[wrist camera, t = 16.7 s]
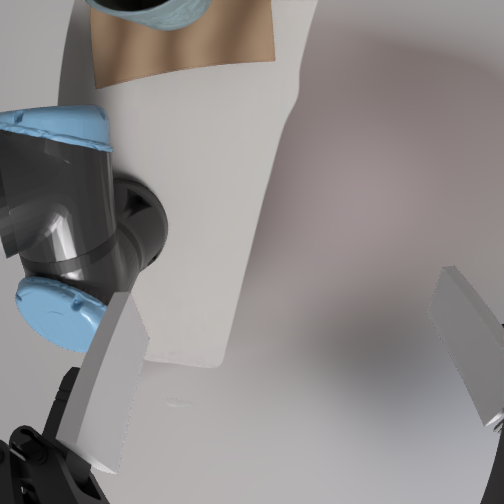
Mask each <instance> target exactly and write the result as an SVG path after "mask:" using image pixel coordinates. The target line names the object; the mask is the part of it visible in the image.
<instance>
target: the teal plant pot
mask: <svg viewBox="0 0 504 504" xmlns="http://www.w3.org/2000/svg"><path fill="white" fill-rule="evenodd" d="M85 1H86V2H87V3H88V4H89V5H90V6H91V7H93V8H94V9H96V10H98V11H100V12H103V13H106V14H109V15H112V16H115V17H119V18H122V19H125V20H129V21H133V22H135V23H138V24H141V25H144V26H147V27H149V28H152V29H155V30H161V31H171V30H176V29H180V28H183V27H186V26H188V25H190V24H192V23H193V22H195V21H196V20H198V19H199V18H200V17H201V16H202V15H203V14H204V13H205V12H206V11H207V9H208V7H209V6H210V4H211V1H212V0H85Z"/></svg>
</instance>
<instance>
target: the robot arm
mask: <svg viewBox="0 0 504 504" xmlns="http://www.w3.org/2000/svg"><path fill="white" fill-rule="evenodd" d="M111 152H113V148H112V146H111V145H110V134H109V120H108V116H107V114H106V112H105V111H104V110H103V109H102V108H101V107H99V106H96V105H68V106H52V107H40V108H31V109H22V110H15V111H6V112H0V258H1V259H3V260H5V259H7V258H9V257H11V256H13V255H15V254H17V253H19V255H20V258H21V262H22V265H23V268H24V271H25V278H23V279H22V280H21V282H19V285H18V289H17V292H16V304H17V307H18V310H19V312H20V313H21V315H22V317H23V318H24V319H25V321H26V322H27V323H28V324H29V325H30V326H31V327H32V328H33V329H34V330H35V331H36V332H37V333H38V334H39V335H41V336H42V337H44V338H45V339H47V340H48V341H50V342H52V343H53V344H55V345H58V346H60V347H62V348H65V349H68V350H72V351H77V352H87V354H86V356H85V359H84V361H83V363H82V366H81V368H77V367H72V368H71V369H70V370H69V371H68V372H67V373H66V375H65V376H64V377H63V380H62V382H61V384H60V387H59V391H58V392H57V395H56V397H55V399H56V400H55V401H54V402H53V405H52V408H51V411H50V413H49V416H48V419H47V422H46V425H45V428H44V431H43V433H42V435H40V434H39V433H38V432H37V431H35V430H34V429H33V428H32V427H30V426H26V425H24V426H20V427H18V428H17V429H15V430H14V431H13V433H12V435H11V436H10V440H9V445H8V444H6V443H5V442H4V441H2V440H0V504H110V503H109V502H108V500H107V499H106V497H105V495H104V493H103V492H102V490H101V488H100V486H99V485H98V483H97V481H96V479H95V477H94V475H93V474H92V473H91V471H90V469H91V465H92V466H94V467H95V468H97V469H98V470H100V471H104V472H109V473H113V474H118V472H119V467H120V461H121V456H122V451H123V445H124V441H125V436H126V431H127V427H128V422H129V417H130V413H131V409H132V404H133V400H134V396H135V392H136V388H137V384H138V380H139V376H140V372H141V368H142V365H143V361H144V357H145V353H146V350H147V346H148V343H149V339H150V338H149V336H148V333H147V331H146V329H145V326H144V324H143V321H142V319H141V317H140V314H139V312H138V309H137V307H136V304H135V301H134V299H133V296H132V294H131V290H132V288H133V285H134V283H135V281H136V278H137V276H138V274H139V273H140V272H141V271H142V270H144V269H145V268H146V267H147V266H149V265H150V264H152V263H153V262H154V261H155V260H156V259H157V258H158V256H159V255H160V253H161V251H162V249H163V247H164V245H165V242H166V239H167V235H168V222H167V217H166V214H165V211H164V209H163V207H162V205H161V203H160V202H159V200H158V199H157V198H156V197H155V196H154V194H152V193H151V192H150V191H149V190H148V189H147V188H145V187H144V186H142V185H140V184H138V183H136V182H133V181H130V180H125V179H113V175H112V157H111ZM426 314H427V316H428V317H429V319H430V321H431V322H432V324H433V326H434V328H435V329H436V331H437V333H438V335H439V336H440V338H441V340H442V342H443V343H444V345H445V347H446V349H447V351H448V353H449V354H450V356H451V358H452V360H453V362H454V364H455V366H456V368H457V370H458V371H459V373H460V375H461V377H462V379H463V381H464V383H465V385H466V387H467V389H468V392H469V394H470V396H471V398H472V400H473V402H474V405H475V407H476V409H477V411H478V413H479V416H480V418H481V420H482V423H483V425H484V426H486V425H488V424H490V423H492V422H494V421H496V420H497V419H498V418H499V417H500V416H501V415H502V414H503V413H504V324H501V323H500V322H499V321H498V320H497V318H496V317H495V315H494V314H493V312H492V311H491V310H490V308H489V307H488V306H487V305H486V303H485V302H484V301H483V299H482V298H481V297H480V295H479V294H478V293H477V292H476V290H475V289H474V288H473V287H472V285H470V283H469V282H468V281H467V279H466V278H465V277H464V276H463V275H462V273H461V272H460V271H459V270H458V269H457V268H456V266H448V267H442V270H441V273H440V277H439V279H438V282H437V286H436V288H435V291H434V294H433V297H432V299H431V303H430V305H429V307H428V310H427V313H426ZM501 426H502V428H501V429H500V430H499V431H498V433H500V434H501V435H500V440H499V444H498V448H497V452H496V456H495V460H494V464H493V467H492V471H491V474H490V477H489V480H488V484H487V487H486V489H485V492H484V495H483V498H482V501H481V503H480V504H504V419H503V420H502V421H501V422H499V423H498V425H496V427H495V428H494V432H496V431H497V430H498V429H499V428H500V427H501ZM21 487H23V493H22V489H21Z"/></svg>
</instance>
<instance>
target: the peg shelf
mask: <svg viewBox="0 0 504 504" xmlns="http://www.w3.org/2000/svg"><path fill="white" fill-rule="evenodd" d="M90 21H91V42H92V56H93V67H94V77H95V86H96V89H100V88H104V87H108V86H111V85H115V84H119V83H122V82H126V81H130V80H134V79H139V78H143V77H148V76H152V75H157V74H162V73H167V72H173V71H179V70H185V69H191V68H198V67H206V66H214V65H223V64H234V63H248V62H269V61H275V48H274V35H273V22H272V10H271V0H212V1H211V4H210V6H209V7H208V9H207V11H206V12H205V13H204V14H203V15H202V16H201V17H200V18H199V19H198V20H196V21H195V22H193V23H192V24H190V25H188V26H186V27H183V28H180V29H176V30H171V31H161V30H155V29H152V28H149V27H147V26H144V25H141V24H138V23H135V22H133V21H129V20H125V19H122V18H119V17H115V16H112V15H109V14H106V13H103V12H100V11H98V10H96V9H94V8H93V7H91V6H90Z"/></svg>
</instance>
